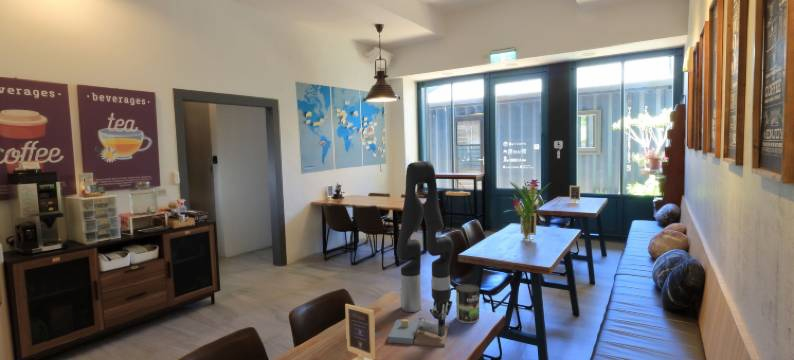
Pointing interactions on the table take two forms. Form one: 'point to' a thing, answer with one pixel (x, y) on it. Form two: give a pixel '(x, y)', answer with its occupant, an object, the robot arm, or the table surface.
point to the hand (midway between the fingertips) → (441, 327)
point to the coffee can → (467, 303)
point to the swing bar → (431, 327)
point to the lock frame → (414, 334)
